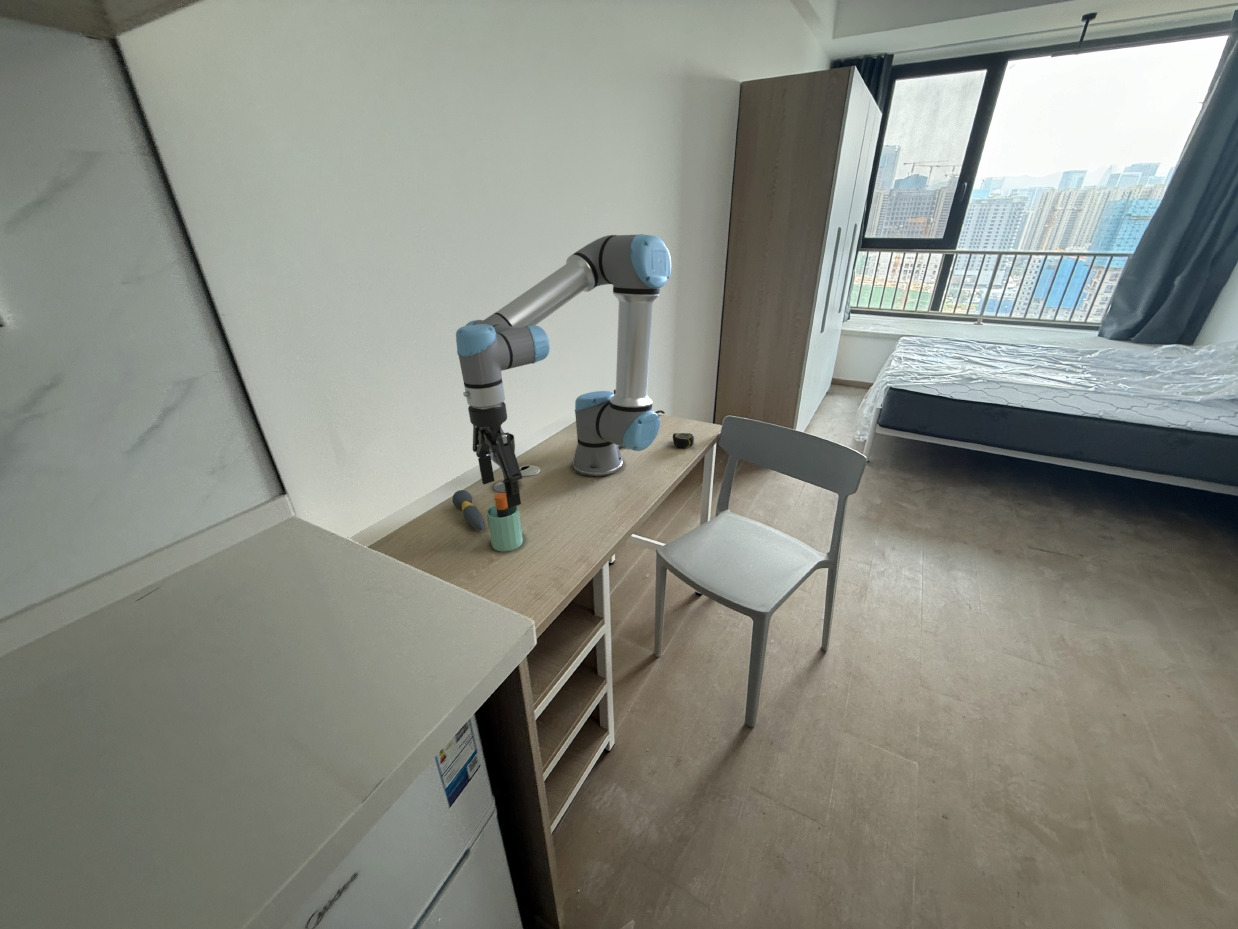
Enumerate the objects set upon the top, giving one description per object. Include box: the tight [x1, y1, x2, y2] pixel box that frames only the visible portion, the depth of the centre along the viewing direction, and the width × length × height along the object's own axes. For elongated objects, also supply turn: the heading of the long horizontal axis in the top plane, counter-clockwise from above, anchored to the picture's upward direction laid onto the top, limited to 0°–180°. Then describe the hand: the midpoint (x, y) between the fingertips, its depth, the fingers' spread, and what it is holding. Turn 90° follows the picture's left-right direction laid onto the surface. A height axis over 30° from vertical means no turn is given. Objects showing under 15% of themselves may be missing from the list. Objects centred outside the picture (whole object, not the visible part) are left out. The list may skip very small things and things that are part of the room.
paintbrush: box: [451, 489, 485, 532], centre depth 124 cm, size 20×5×5 cm, turn 38°
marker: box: [494, 492, 509, 518], centre depth 111 cm, size 3×3×12 cm
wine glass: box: [487, 432, 520, 493], centre depth 136 cm, size 8×8×15 cm
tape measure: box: [672, 432, 695, 449], centre depth 161 cm, size 7×7×4 cm
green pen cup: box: [485, 503, 524, 552], centre depth 112 cm, size 7×7×9 cm
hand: (501, 493), depth 109 cm, fingers open, 13 cm apart
